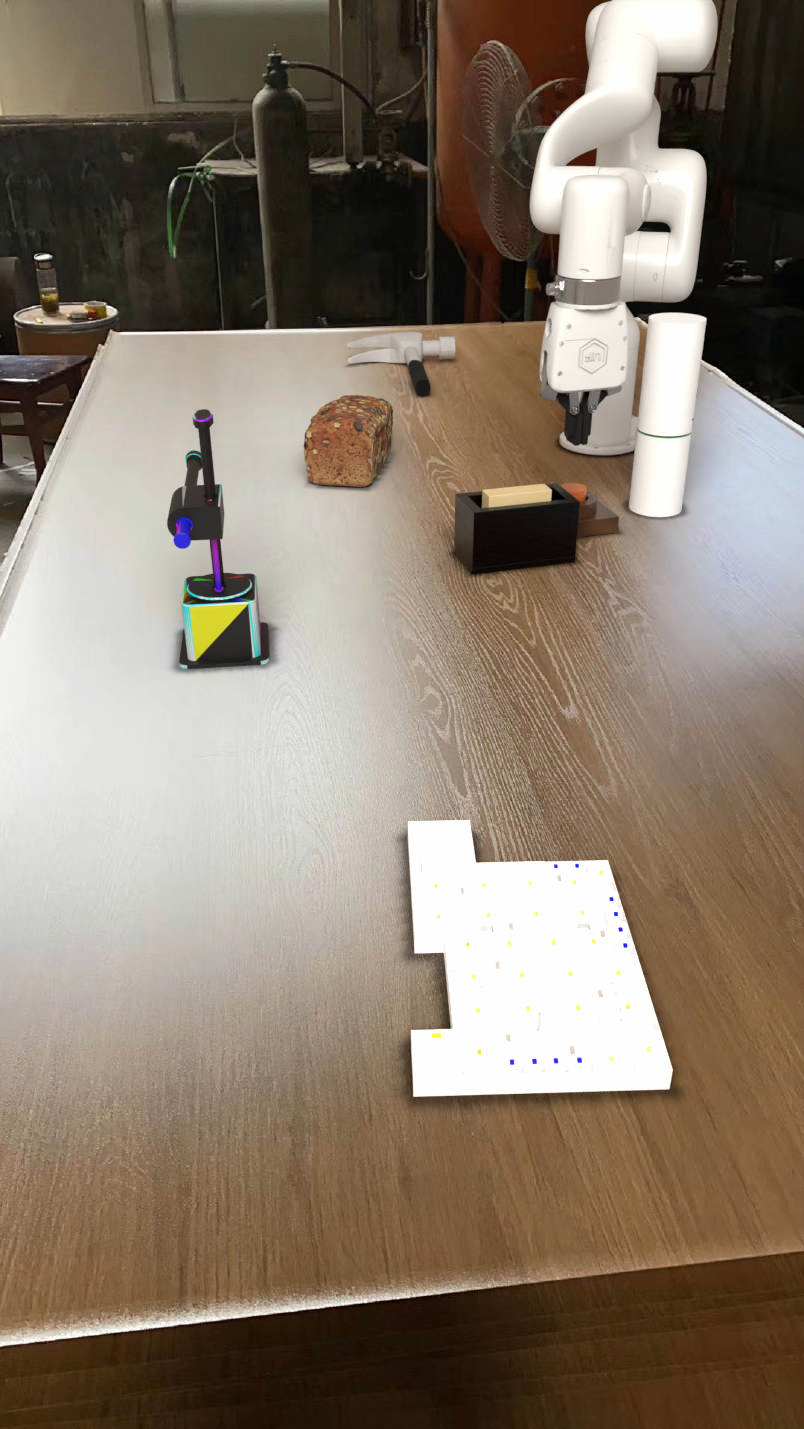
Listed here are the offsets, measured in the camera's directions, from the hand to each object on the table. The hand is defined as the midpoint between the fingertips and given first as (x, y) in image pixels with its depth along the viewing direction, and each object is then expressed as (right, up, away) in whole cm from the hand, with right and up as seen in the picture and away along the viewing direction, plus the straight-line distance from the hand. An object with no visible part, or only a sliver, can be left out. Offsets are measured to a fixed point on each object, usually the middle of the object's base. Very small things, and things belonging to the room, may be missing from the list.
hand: (576, 441), depth 139 cm
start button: (0, -7, +3) cm, 8 cm away
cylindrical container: (+13, -7, +11) cm, 18 cm away
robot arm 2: (-42, -25, -20) cm, 53 cm away
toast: (-9, -15, -5) cm, 18 cm away
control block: (0, -10, +5) cm, 11 cm away
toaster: (-8, -15, -4) cm, 18 cm away
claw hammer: (-21, +31, +75) cm, 84 cm away
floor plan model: (-14, -51, -64) cm, 83 cm away
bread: (-30, +2, +26) cm, 40 cm away
